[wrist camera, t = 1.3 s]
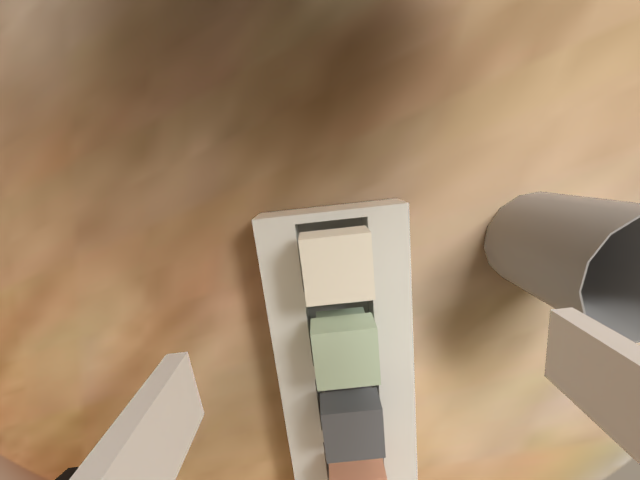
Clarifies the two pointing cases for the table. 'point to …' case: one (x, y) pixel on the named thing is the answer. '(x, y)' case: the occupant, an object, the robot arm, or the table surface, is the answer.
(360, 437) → the key charcoal
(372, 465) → the key terracotta
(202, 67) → the table surface
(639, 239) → the cup
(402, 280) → the keypad
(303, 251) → the key cream
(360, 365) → the key sage
